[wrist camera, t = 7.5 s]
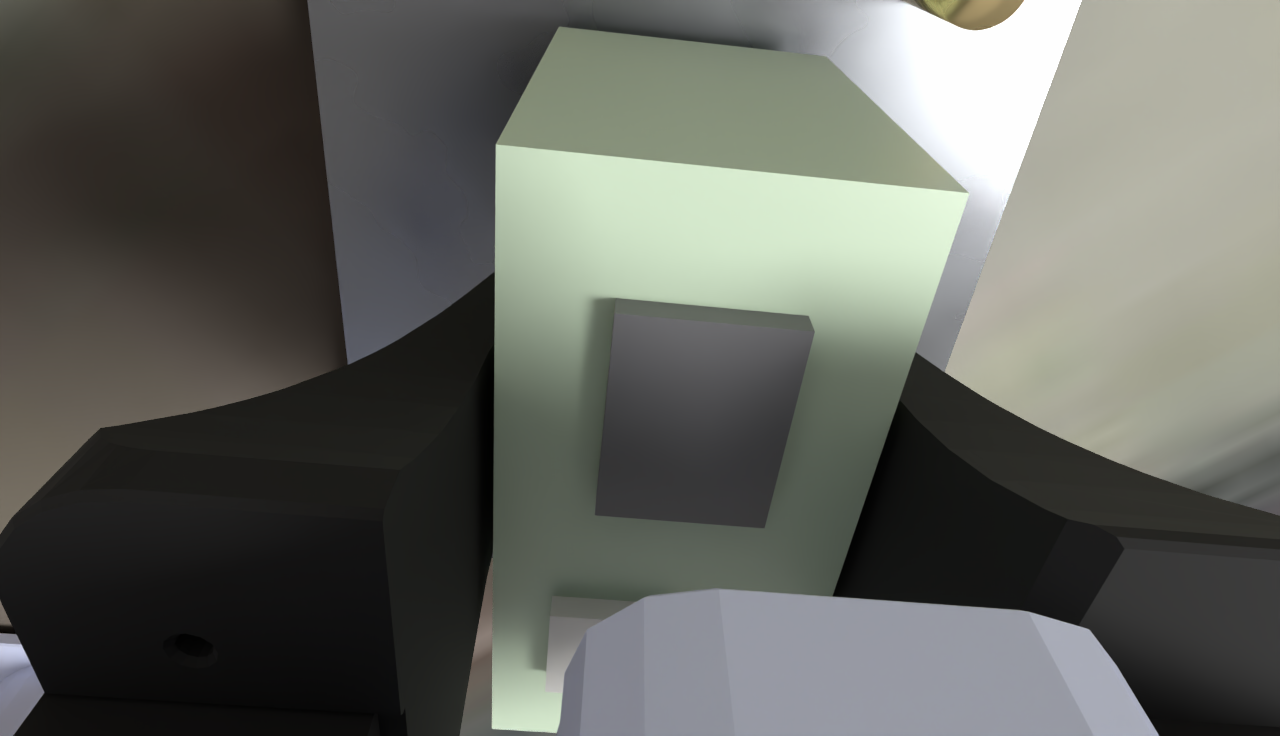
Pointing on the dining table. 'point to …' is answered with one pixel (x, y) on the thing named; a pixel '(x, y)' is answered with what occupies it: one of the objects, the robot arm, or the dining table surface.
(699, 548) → the pale green block
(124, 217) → the dining table surface
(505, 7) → the plate
